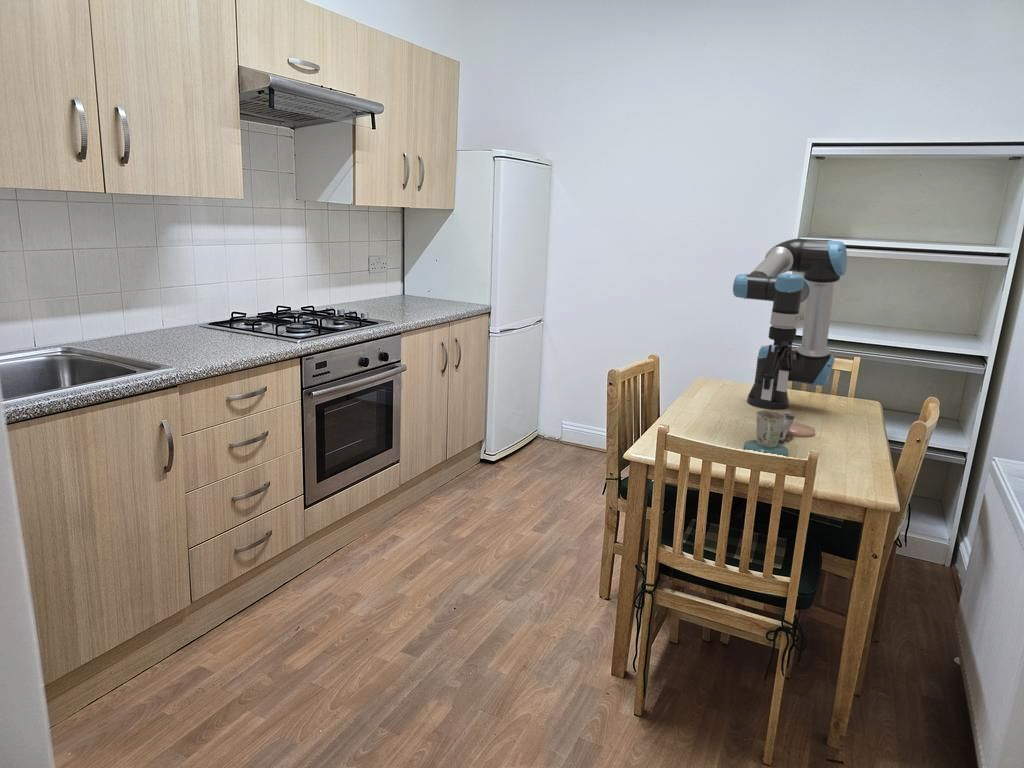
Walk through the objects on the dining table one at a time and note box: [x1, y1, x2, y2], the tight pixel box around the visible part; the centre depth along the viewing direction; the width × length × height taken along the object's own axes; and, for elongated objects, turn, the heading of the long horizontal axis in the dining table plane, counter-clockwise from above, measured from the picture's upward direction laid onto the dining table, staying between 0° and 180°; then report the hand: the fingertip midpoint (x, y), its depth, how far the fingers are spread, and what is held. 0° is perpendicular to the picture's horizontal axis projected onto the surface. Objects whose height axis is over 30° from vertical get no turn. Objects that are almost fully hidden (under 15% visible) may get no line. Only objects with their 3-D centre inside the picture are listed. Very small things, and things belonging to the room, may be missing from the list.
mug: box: [756, 410, 785, 448], centre depth 214 cm, size 8×13×10 cm, turn 162°
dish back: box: [788, 421, 816, 438], centre depth 237 cm, size 13×13×1 cm
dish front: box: [743, 439, 789, 457], centre depth 215 cm, size 13×13×1 cm
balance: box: [778, 410, 798, 443], centre depth 227 cm, size 5×13×8 cm, turn 141°
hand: (773, 395), depth 211 cm, fingers open, 13 cm apart
